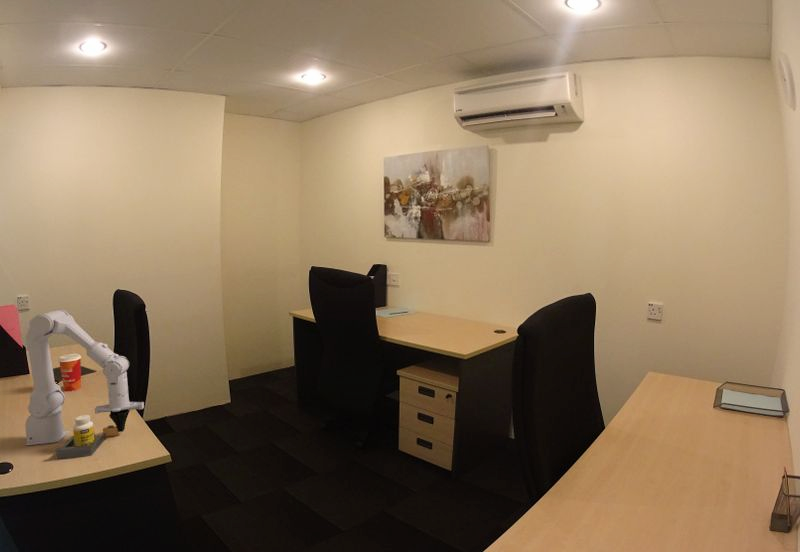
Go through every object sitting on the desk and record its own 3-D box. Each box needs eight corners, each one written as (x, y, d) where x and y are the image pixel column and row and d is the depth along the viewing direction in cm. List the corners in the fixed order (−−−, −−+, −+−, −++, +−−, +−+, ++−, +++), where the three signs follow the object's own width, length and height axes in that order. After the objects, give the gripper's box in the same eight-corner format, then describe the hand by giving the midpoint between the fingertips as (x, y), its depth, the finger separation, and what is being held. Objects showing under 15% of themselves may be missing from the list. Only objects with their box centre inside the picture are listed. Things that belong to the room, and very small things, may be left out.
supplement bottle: (81, 451, 143) (78, 422, 142) (70, 447, 145) (68, 419, 144) (98, 443, 148) (96, 415, 147) (88, 440, 150) (85, 412, 149)
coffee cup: (56, 390, 195) (53, 357, 194) (76, 384, 203) (73, 352, 201) (69, 393, 192) (65, 359, 190) (88, 386, 200) (85, 354, 198)
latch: (103, 436, 153) (102, 427, 152) (104, 435, 154) (103, 425, 153) (117, 435, 154) (116, 425, 153) (119, 433, 155) (118, 424, 155)
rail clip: (56, 459, 138) (56, 450, 138) (77, 437, 152) (76, 429, 152) (91, 455, 141) (90, 446, 140) (109, 434, 154) (108, 426, 154)
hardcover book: (73, 367, 228) (73, 363, 228) (97, 375, 217) (96, 370, 216) (36, 377, 214) (35, 372, 214) (59, 385, 203) (58, 380, 203)
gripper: (89, 399, 147) (92, 438, 149) (138, 395, 151) (141, 433, 152) (98, 391, 154) (101, 429, 156) (144, 387, 158) (147, 424, 159)
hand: (121, 430), depth 154 cm, fingers closed
